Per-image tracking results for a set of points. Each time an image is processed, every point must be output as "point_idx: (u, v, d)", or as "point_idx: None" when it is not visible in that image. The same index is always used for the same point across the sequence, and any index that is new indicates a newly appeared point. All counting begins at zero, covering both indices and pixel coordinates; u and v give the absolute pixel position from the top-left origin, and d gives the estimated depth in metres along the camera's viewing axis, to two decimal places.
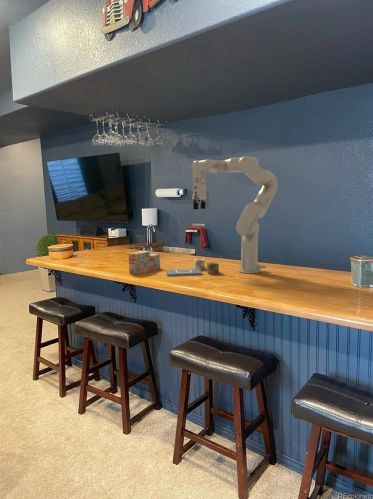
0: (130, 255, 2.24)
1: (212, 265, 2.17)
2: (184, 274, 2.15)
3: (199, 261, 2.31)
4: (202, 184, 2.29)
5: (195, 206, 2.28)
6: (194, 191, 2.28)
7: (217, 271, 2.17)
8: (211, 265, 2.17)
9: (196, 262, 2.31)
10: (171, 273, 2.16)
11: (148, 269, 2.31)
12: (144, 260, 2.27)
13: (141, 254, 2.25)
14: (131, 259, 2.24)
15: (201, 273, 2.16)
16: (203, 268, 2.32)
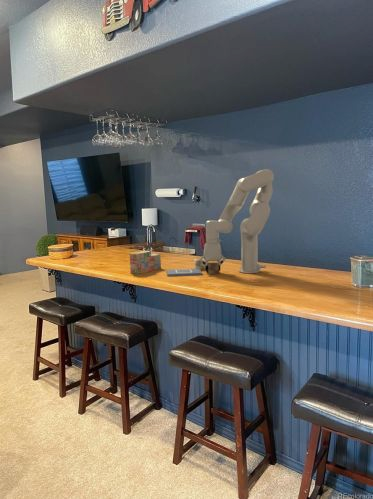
0: (131, 255, 2.24)
1: (212, 265, 2.17)
2: (184, 274, 2.15)
3: (199, 261, 2.31)
4: None
5: None
6: None
7: (217, 271, 2.17)
8: (211, 265, 2.17)
9: (196, 262, 2.31)
10: (171, 273, 2.16)
11: (149, 269, 2.31)
12: (145, 260, 2.27)
13: (142, 254, 2.25)
14: (132, 259, 2.24)
15: (201, 273, 2.16)
16: (203, 268, 2.32)
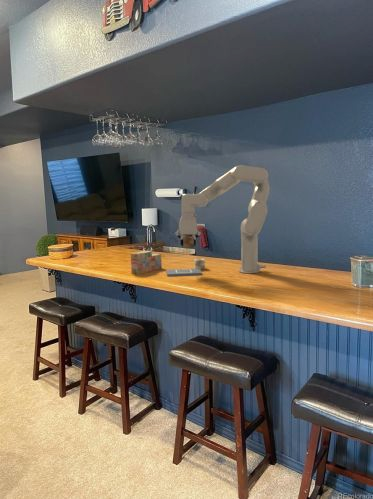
0: (132, 255, 2.24)
1: (187, 239, 2.16)
2: (184, 274, 2.15)
3: (199, 261, 2.31)
4: None
5: None
6: (196, 226, 2.17)
7: (192, 245, 2.16)
8: (186, 238, 2.16)
9: (196, 262, 2.31)
10: (171, 273, 2.16)
11: (150, 269, 2.31)
12: (146, 260, 2.28)
13: (143, 254, 2.25)
14: (133, 259, 2.24)
15: (201, 273, 2.16)
16: (203, 268, 2.32)
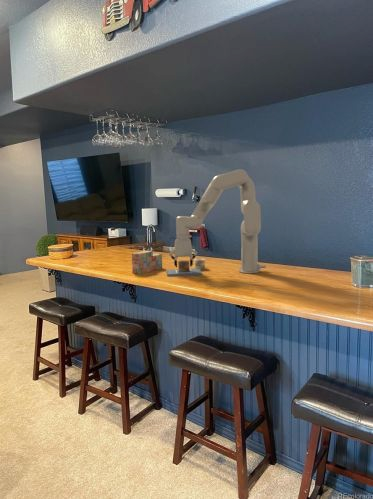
0: (133, 255, 2.24)
1: (182, 263, 2.18)
2: (184, 274, 2.15)
3: (199, 261, 2.31)
4: None
5: None
6: (191, 247, 2.19)
7: (188, 269, 2.19)
8: (181, 263, 2.18)
9: (196, 262, 2.31)
10: (171, 273, 2.16)
11: (151, 269, 2.31)
12: (147, 260, 2.28)
13: (144, 254, 2.25)
14: (134, 259, 2.24)
15: (201, 273, 2.16)
16: (203, 268, 2.32)
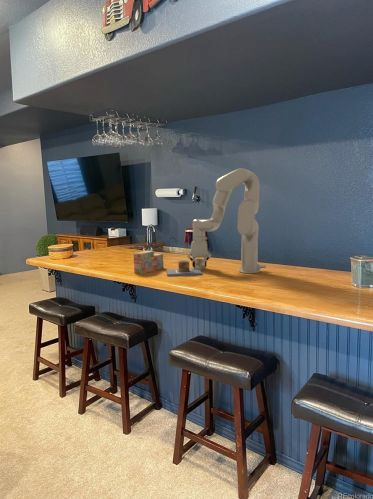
0: (135, 255, 2.24)
1: (182, 263, 2.18)
2: (184, 274, 2.15)
3: (199, 261, 2.31)
4: None
5: None
6: None
7: (188, 269, 2.19)
8: (181, 263, 2.18)
9: (196, 262, 2.31)
10: (171, 273, 2.16)
11: (152, 269, 2.32)
12: (149, 260, 2.28)
13: (146, 254, 2.26)
14: (136, 259, 2.24)
15: (201, 273, 2.16)
16: (203, 268, 2.32)
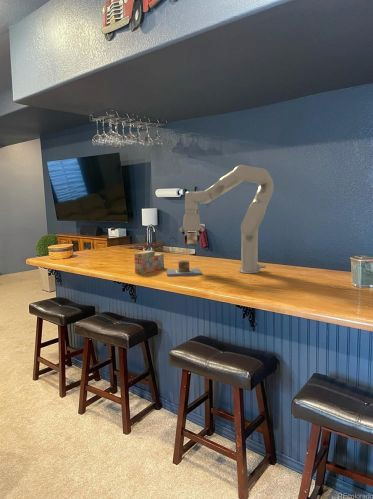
0: (136, 255, 2.24)
1: (182, 263, 2.18)
2: (184, 274, 2.15)
3: (191, 235, 2.23)
4: None
5: None
6: (199, 222, 2.25)
7: (188, 269, 2.19)
8: (181, 263, 2.18)
9: (188, 236, 2.23)
10: (171, 273, 2.16)
11: (153, 269, 2.32)
12: (150, 260, 2.28)
13: (147, 254, 2.26)
14: (137, 259, 2.24)
15: (201, 273, 2.16)
16: (195, 242, 2.24)
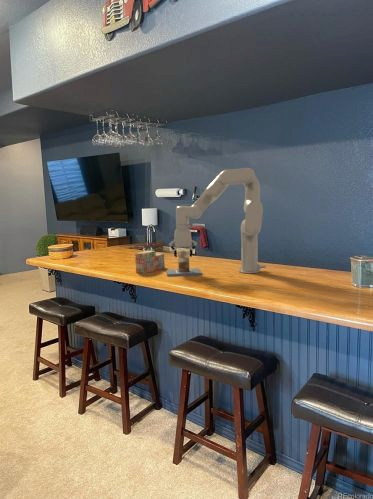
0: (137, 255, 2.24)
1: (182, 263, 2.18)
2: (184, 274, 2.15)
3: (183, 253, 2.17)
4: None
5: None
6: None
7: (188, 269, 2.19)
8: (181, 263, 2.18)
9: (179, 254, 2.17)
10: (171, 273, 2.16)
11: (154, 268, 2.32)
12: (151, 260, 2.29)
13: (148, 254, 2.26)
14: (138, 259, 2.24)
15: (201, 273, 2.16)
16: (187, 260, 2.18)
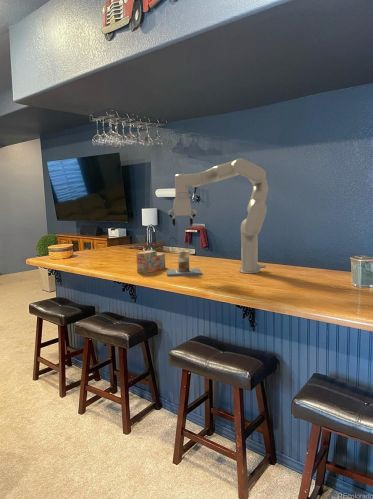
0: (138, 255, 2.24)
1: (182, 263, 2.18)
2: (184, 274, 2.15)
3: (183, 253, 2.17)
4: None
5: None
6: (190, 206, 2.16)
7: (188, 269, 2.19)
8: (181, 263, 2.18)
9: (179, 254, 2.17)
10: (171, 273, 2.16)
11: (155, 268, 2.32)
12: (152, 260, 2.29)
13: (149, 254, 2.26)
14: (139, 259, 2.24)
15: (201, 273, 2.16)
16: (187, 260, 2.18)
